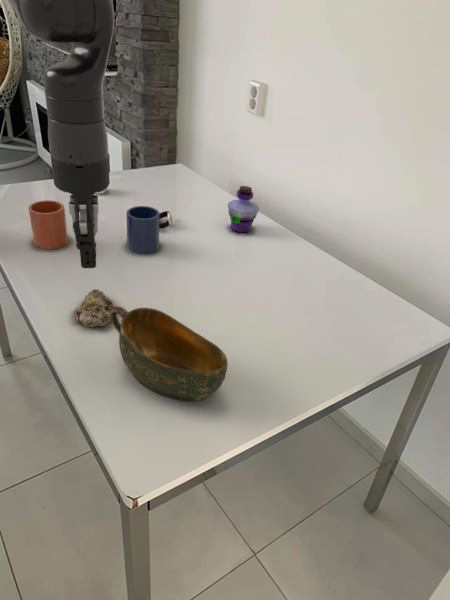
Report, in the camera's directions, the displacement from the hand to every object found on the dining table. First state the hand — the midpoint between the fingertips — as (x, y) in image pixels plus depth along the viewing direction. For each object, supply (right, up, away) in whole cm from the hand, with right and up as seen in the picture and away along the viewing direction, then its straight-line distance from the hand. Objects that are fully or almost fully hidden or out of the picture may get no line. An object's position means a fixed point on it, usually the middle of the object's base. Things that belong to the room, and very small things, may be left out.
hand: (89, 262), depth 71 cm
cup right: (+1, +7, +41) cm, 41 cm away
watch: (+5, +14, +52) cm, 54 cm away
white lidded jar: (-17, +27, +66) cm, 73 cm away
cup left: (-21, +8, +38) cm, 44 cm away
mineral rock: (-4, -9, +17) cm, 20 cm away
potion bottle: (+26, +14, +54) cm, 62 cm away
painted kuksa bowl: (+11, -19, +5) cm, 23 cm away
